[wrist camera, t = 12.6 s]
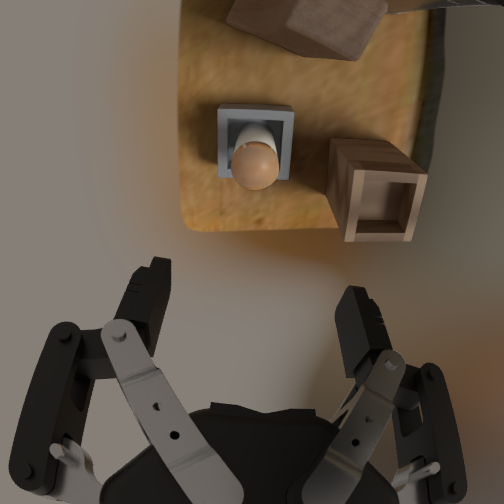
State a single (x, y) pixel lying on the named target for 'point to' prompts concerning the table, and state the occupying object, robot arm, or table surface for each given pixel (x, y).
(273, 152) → the white and tan cylinder
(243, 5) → the wooden block
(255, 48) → the table surface
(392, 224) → the socket tower
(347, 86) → the table surface
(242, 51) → the table surface
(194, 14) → the table surface
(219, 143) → the low socket
